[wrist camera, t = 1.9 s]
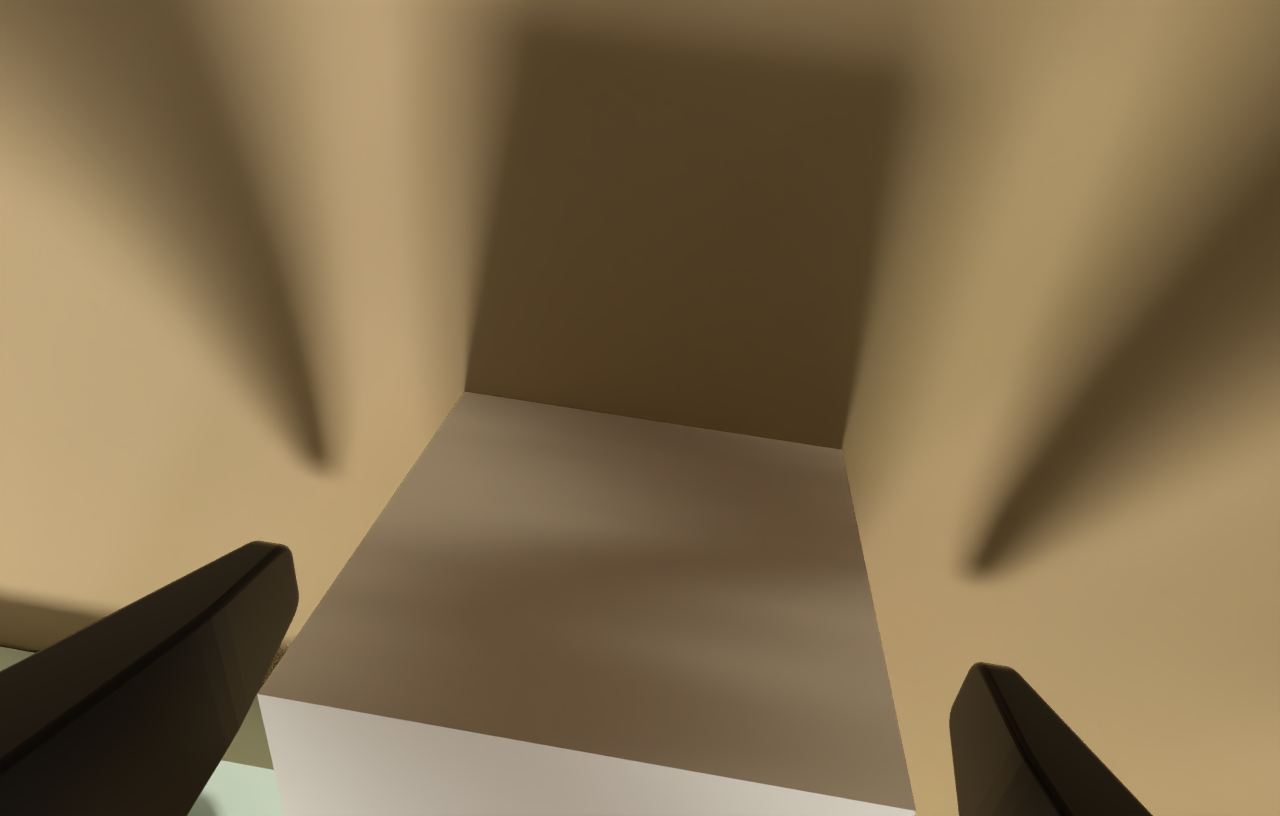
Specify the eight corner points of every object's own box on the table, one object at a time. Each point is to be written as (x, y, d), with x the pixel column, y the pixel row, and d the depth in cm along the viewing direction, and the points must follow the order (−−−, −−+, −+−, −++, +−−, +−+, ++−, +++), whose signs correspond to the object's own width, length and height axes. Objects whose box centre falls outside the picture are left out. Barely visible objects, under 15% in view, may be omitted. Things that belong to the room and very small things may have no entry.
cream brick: (841, 445, 9) (915, 810, 5) (767, 700, 11) (780, 1089, 7) (466, 388, 9) (257, 694, 5) (469, 649, 11) (325, 998, 7)
